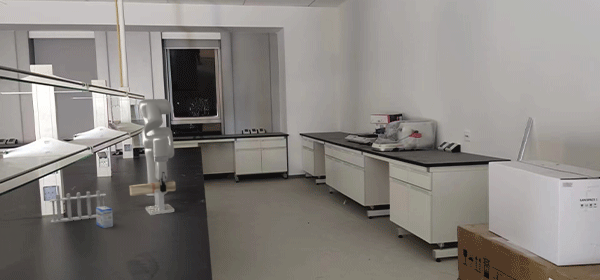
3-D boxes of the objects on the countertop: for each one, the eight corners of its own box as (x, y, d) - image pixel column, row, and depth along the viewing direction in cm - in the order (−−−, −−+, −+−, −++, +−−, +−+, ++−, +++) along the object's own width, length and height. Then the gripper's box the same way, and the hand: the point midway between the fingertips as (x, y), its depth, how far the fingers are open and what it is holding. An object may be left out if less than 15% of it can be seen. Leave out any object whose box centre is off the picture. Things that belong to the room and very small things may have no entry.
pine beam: (129, 194, 240) (129, 185, 240) (173, 189, 253) (173, 180, 252) (131, 196, 237) (130, 187, 236) (175, 190, 249) (175, 181, 249)
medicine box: (96, 225, 204) (95, 207, 204) (106, 223, 208) (104, 205, 207) (103, 228, 199) (102, 209, 198) (113, 226, 202) (112, 208, 201)
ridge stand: (145, 209, 234) (144, 191, 233) (168, 206, 240) (167, 188, 239) (150, 215, 222) (149, 195, 221) (174, 211, 227) (173, 192, 227)
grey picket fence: (50, 223, 210) (48, 196, 209) (51, 221, 214) (49, 194, 213) (107, 216, 221) (106, 190, 220) (107, 214, 225) (105, 189, 224)
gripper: (151, 157, 251) (152, 188, 253) (157, 161, 236) (158, 194, 238) (164, 156, 254) (165, 187, 256) (171, 160, 240) (172, 193, 242)
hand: (162, 190), depth 247 cm, fingers closed on pine beam, 4 cm apart
